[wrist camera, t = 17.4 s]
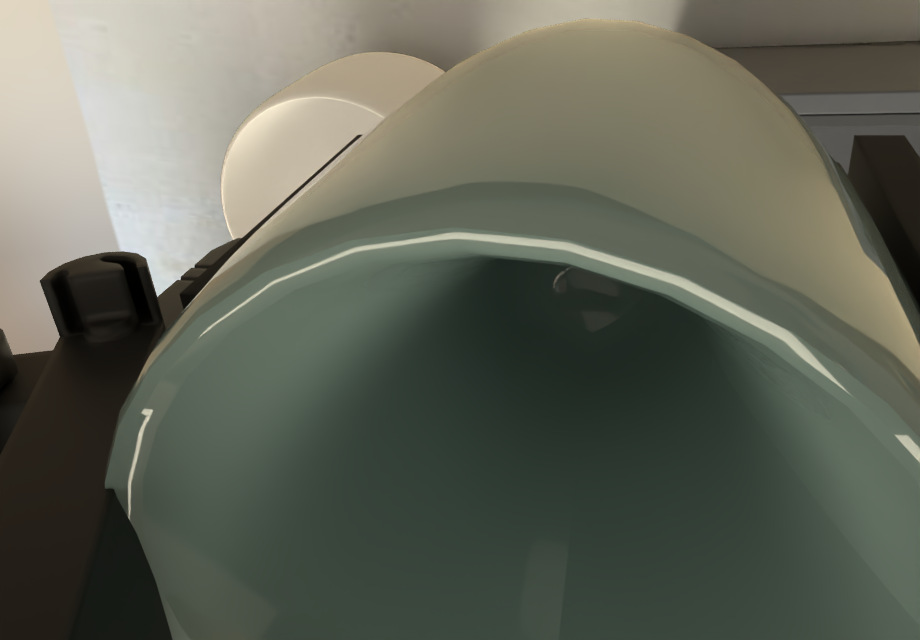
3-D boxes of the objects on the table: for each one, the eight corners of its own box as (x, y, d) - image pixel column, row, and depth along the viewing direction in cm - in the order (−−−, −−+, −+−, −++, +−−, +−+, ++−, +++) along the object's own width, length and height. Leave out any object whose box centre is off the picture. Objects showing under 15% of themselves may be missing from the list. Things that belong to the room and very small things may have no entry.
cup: (937, 196, 14) (1303, 743, 6) (615, 437, 18) (545, 959, 10) (600, -132, 13) (416, -68, 4) (336, 206, 17) (-19, 573, 8)
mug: (322, 26, 35) (185, 97, 26) (511, 9, 33) (438, 80, 24) (370, 275, 41) (273, 409, 32) (534, 275, 39) (483, 418, 29)
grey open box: (983, 466, 31) (652, 440, 33) (936, 364, 36) (658, 350, 39) (1092, 87, 24) (664, 96, 27) (1013, 37, 30) (669, 49, 33)
